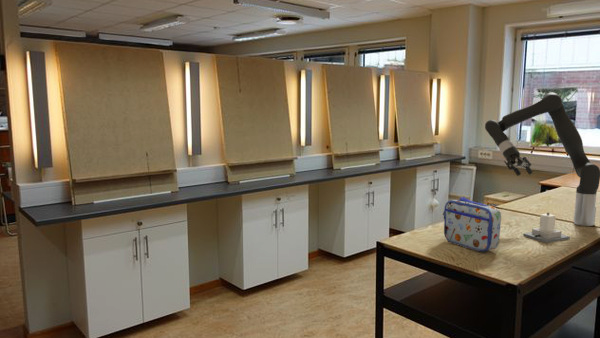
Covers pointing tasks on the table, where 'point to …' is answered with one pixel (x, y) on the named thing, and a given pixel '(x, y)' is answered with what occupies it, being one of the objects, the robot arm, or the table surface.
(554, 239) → the charging dock
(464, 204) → the lunch box
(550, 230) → the block
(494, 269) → the table surface
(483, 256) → the table surface
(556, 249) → the table surface
